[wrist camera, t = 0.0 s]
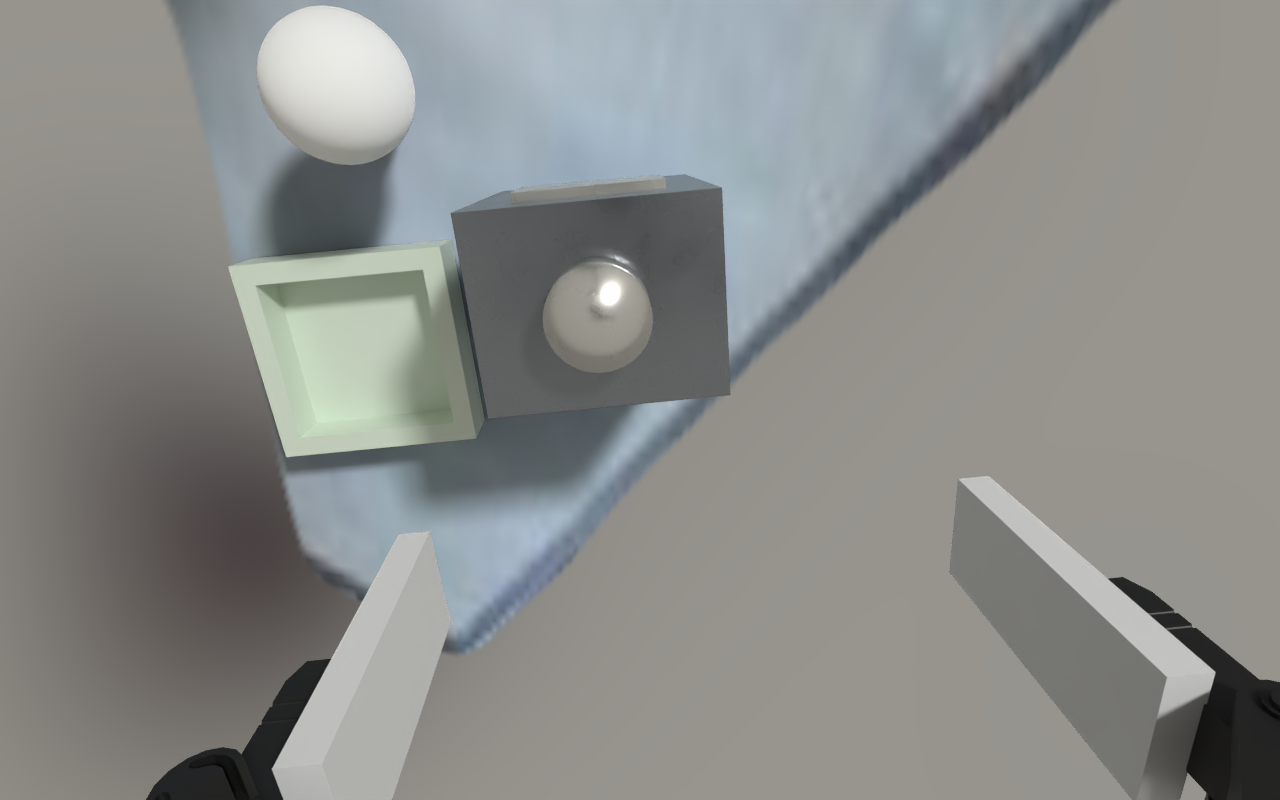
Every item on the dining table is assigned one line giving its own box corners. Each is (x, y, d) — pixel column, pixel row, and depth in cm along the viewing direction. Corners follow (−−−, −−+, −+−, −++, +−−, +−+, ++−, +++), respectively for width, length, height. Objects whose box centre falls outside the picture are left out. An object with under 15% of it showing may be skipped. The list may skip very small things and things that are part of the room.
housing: (500, 184, 40) (437, 207, 25) (684, 167, 40) (729, 179, 25) (524, 336, 43) (480, 436, 28) (693, 320, 43) (738, 411, 28)
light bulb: (430, 180, 40) (368, 191, 29) (317, 133, 38) (212, 129, 28) (464, 64, 38) (410, 34, 27) (346, 12, 36) (242, -41, 26)
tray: (254, 257, 41) (227, 266, 38) (451, 239, 41) (439, 246, 38) (306, 437, 45) (286, 457, 42) (484, 419, 45) (476, 438, 42)
